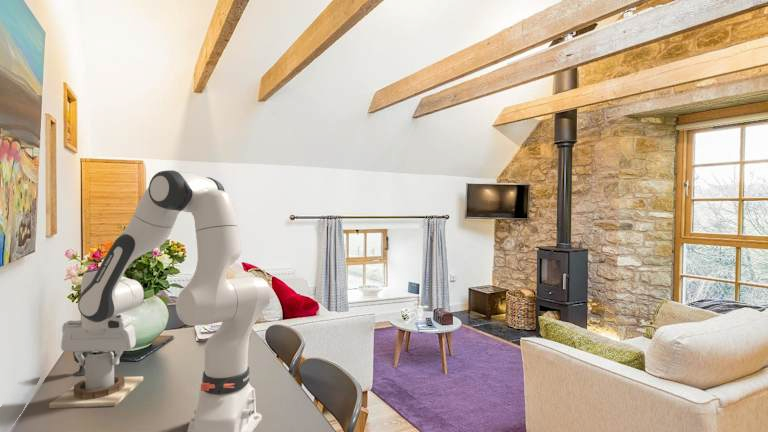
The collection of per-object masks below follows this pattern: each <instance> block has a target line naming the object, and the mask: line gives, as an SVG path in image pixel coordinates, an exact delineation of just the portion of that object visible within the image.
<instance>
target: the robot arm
mask: <svg viewBox="0 0 768 432" xmlns="http://www.w3.org/2000/svg"><path fill="white" fill-rule="evenodd" d="M148 184H149V185H148V187H147V189H146V190H145V192H144V193H143V194H142V196H141V198H140V199H139V202H138V204H137V206H136V208H135V210H134V212H133V215H132V218H131V219H130V220H129V222H128V224H127V226H126V228H125V229H124V231H122V232H121V234H120V235H119V236H118V237H117V238H116V240H115V241H114V242H112V243H113V244H111V246H110V248H109V250H108V252H107V253H106V255H105V256H104V258H103V260H102V262H101V264H100V265H99V267H98V268H95V269H89V270H87V271H85V272H84V273H83V275H82V279H81V284H80V295H79V298H78V301H77V307H78V310H79V313H80V315H81V316H80V319H81V320H67V321H66V322H64V323H63V324H62V329H61V330H62V331H61V332H62V337H61V345H60V347H61V349H60V350H62V352H63V353H73V352H75V356H76V358H77V359H78V360H79V363H78V366H79V367H80V366H83V365H84V366H85V358H84V356H83V355H82V353H83V352H90V351H111V352H114V355H115V356H114V358H113V359H112V365H114V366H117V365H120V358H121V356H122V355H123V354H124V351H126V352H127V351H131V350H132V349H133V348H134V347H135V346H136V344H137V340H136V339H137V338H136V330H135V327H134V325H133V324H132V323H133V316H131V315H129V314H125V313H126V312H129V311H133V310H135V309H136V308H138V307H140V306H141V305H142V304H143V303H144V299H145V289H144V287H143V284H142V283H140V281H138V280H136V279H134V278H132V279H131V278H128V277H125V276H124V274H125V272H126V270H127V269H128V267H129V266H130V265H131V264H132V263H133V262H134V261H135V260H137V259H138V258H140V257H142V256H143V255H145V254H147V253H149V252H151V251H153V250H155V249H157V248H159V247H162V245H164V243H166V241H167V240H168V238H169V237H170V235H171V234H172V230H173V229H174V226H175V224H176V221H177V219H178V215H179V214H180V213H181V212H186V213H191V214H192V216H193V219H194V228H195V229H194V230H195V238H196V248H197V250H196V251H197V260H196V261H197V263H196V268H195V271H194V273H193V275H192V277H191V279H190V281H189V282H188V284H187V285H186V286H185V287H184V288H183V289H182V290H181V291H180V293H179V294H178V295H177V298H176V302H175V310H176V314H177V317H178V318H179V319H180V321H182V323H183V324H185V325H187V326H208V325H212V324H216V323H217V324H218V323H221V324H220V326H219V328H218V329H217V330H216V332H214V333H213V334H212V335H211V336H210V337H209V338H208V339H207V340H206V342H205V345H204V371H203V372H202V378H201V384H200V390H198V400H197V404H196V409H195V410H194V412H193V413H194V416H191V418H190V420H189V424H188V427H187V432H254V431H255V429H257V426H258V425H259V424H260V423H261V421H262V419H263V416H262V414H261V413H259V412H257V410H256V409H257V408H256V407H257V406H256V389H255V388H254V387H253V386H252V385H251V383H250V372H251V371H250V367H249V365H248V364H249V361H248V360H249V359H248V357H249V342H250V338H251V334H252V330H253V328H254V326H255V323H256V322H257V320H258V318H259V316H260V315H261V314H262V313H263V311H265V310H266V309H267V308H268V306H269V305H270V302H271V300H272V299H271V298H272V291H271V288H270V285H269V283H268V282H267V280H266V279H264V278H263V277H259V276H239V277H234V278H227V272H228V269H229V267H230V266H231V265H233V264H234V263H235V262H236V261H238V259H239V258H240V256H241V255H242V244H241V238H240V237H241V236H240V230H239V223H238V217H237V214H236V210H235V209H236V208H235V207H234V204H233V200H232V198H231V196H230V195H229V194H228V192H227V191H225V188H224V186H223V184H222V183H221V182H220V181H218V180H216V179H215V178H213V177H207V176H202V175H199V174H196V173H193V172H187V171H176V170H169V169H168V170H162V171H158V172H156V173H155V174H154V175H153V176H152V177H151V179H150V180H149V183H148Z"/></svg>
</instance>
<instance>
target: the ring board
mask: <svg viewBox="0 0 768 432" xmlns="http://www.w3.org/2000/svg"><path fill="white" fill-rule="evenodd" d="M143 381H144V375H143V376H141V375H140V376H123V375H121V374H117V373H114V385H111V386H109V387H106V388H102V389H97V390H86V389H85V378H83V379H81V380H80V381H79V382H77V383H76V384H74V385H73V386H72V387H71V388H69V389H68V390H66V391H65V392H64V393H62V394H61V395H60V396H58V397H56V398H55V399H54V400H52V401H51V402H49V404H48V408H49V409H61V408H66V409H67V408H92V407H93V408H95V407H98V408H99V407H117V405H118V404H119V403H121V401H122V400H123V399H125V398H126V397H127V396H128V395H129V394H130V393H131V392H132V391H133V390H134V389H135V388H137V387H138V385H140V384H141V383H142V382H143Z"/></svg>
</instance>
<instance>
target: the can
mask: <svg viewBox="0 0 768 432" xmlns="http://www.w3.org/2000/svg"><path fill="white" fill-rule="evenodd" d="M87 354H88V355H87V356H86V358H85V365H84V369H85V375H84V377H85V378H84V379H85V389H86V390H97V389H102V388H106V387H109V386H111V385H114V374H115V365H112V359H113V358H115V352H114V351H90V352H88V353H87Z"/></svg>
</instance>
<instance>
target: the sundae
mask: <svg viewBox="0 0 768 432" xmlns="http://www.w3.org/2000/svg"><path fill="white" fill-rule="evenodd" d="M72 353H73V360H74V361H75V363H77V364H79V360H78V359H77V358H76V356H75V352H72ZM87 353H88V352H83V353H82V355H83V356H84V358H86V356H87V355H88V354H87ZM72 375H73V376H74V377H83V376H85V365H83V366H79V369H78V371H75V372H73V374H72Z"/></svg>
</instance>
